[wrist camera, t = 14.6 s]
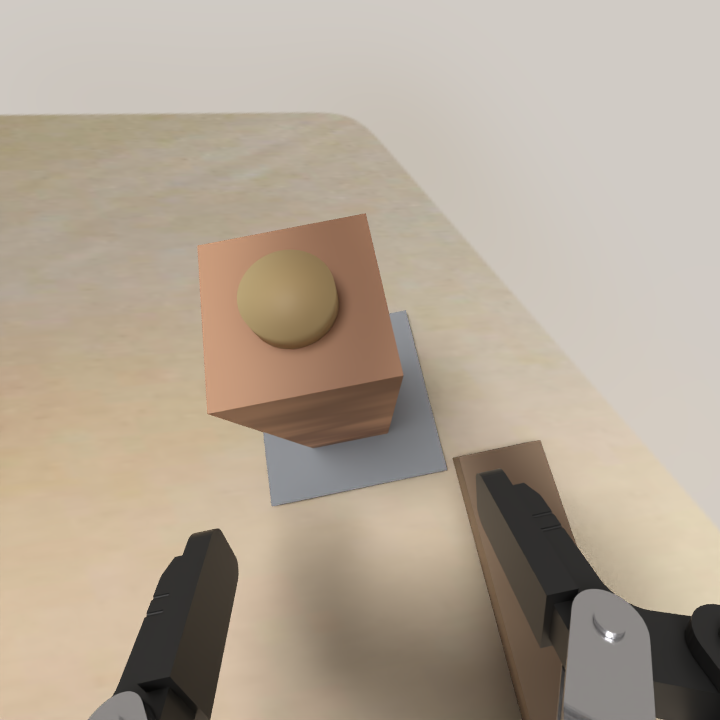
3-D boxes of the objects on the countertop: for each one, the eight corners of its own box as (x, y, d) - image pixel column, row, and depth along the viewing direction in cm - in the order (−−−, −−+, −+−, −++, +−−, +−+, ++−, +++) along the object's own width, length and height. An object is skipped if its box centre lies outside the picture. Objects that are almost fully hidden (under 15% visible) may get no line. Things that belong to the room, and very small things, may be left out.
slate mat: (274, 505, 18) (271, 506, 18) (255, 343, 21) (252, 341, 20) (445, 469, 18) (447, 469, 18) (405, 313, 21) (405, 310, 21)
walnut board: (585, 954, 13) (610, 1013, 12) (452, 458, 18) (458, 457, 17) (690, 930, 13) (728, 987, 12) (527, 442, 19) (540, 439, 17)
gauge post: (312, 448, 19) (192, 409, 7) (302, 375, 20) (184, 228, 8) (387, 433, 19) (405, 367, 7) (372, 361, 20) (364, 194, 8)
